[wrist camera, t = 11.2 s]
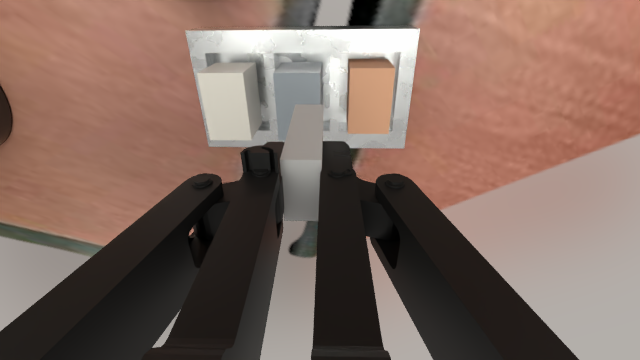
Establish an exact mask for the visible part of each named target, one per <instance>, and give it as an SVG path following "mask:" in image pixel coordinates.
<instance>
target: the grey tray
mask: <svg viewBox="0 0 640 360" xmlns="http://www.w3.org/2000/svg"><path fill="white" fill-rule="evenodd" d="M185 32H186V37H187V42H188V47H189V51H190V56H191V61H192V66H193V71H194V76H195V81H196V86H197V91H198V96H199V101H200V105H201V110H202V115H203V120H204V125H205V130H206V135H207V140H208V145H209V147H252V146H258V145H265V144H266V143H267V142H285V141H279V140H278V128H277V115H276V103H275V91H274V79H273V72H274V71H275V70H276V69H277V68H278V66H279V65H280V64H281V63H282V62H322V85H323V141H344V142H346V143H347V144H348V145H349V148H404V145H405V138H406V130H407V123H408V115H409V108H410V100H411V93H412V85H413V77H414V70H415V62H416V55H417V47H418V40H419V32H420V29H419V28H417V27H414V26H411V25H396V26H283V27H200V28H195V29H191V30H187V31H185ZM348 59H388V60H389V61H390V62H391V63H392V65H393V66H394V67H395V77H394V87H393V97H392V106H391V116H390V126H389V134H348V130H347V85H348ZM237 62H256V70H257V79H258V88H259V98H260V107H261V116H262V123H261V125H260V127H259V129H258V130H257V132H256V134H255V135H254V137H253V139H252V140H210V137H209V132H208V127H207V122H206V117H205V112H204V107H203V102H202V97H201V92H200V87H199V82H198V77H197V73H198V72H200V71H202V70H203V69H205V68H207V67H209V66H211V65H212V64H214V63H237Z"/></svg>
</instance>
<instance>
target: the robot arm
mask: <svg viewBox="0 0 640 360" xmlns="http://www.w3.org/2000/svg"><path fill="white" fill-rule="evenodd" d="M10 129H11V113H10V109H9V105H8V102H7V100H6V98H5V95H4V93H3V92H2V90H1V88H0V145H1V144H2V143H3V142H4V141H5V140H6V139H7V137H8V135H9V133H10ZM241 159H242V166H243V175H242V177H241V179H240V180H239V181H235V182H230V183H224V184H222V182H221V178H220V177H219V176H218V175H214V174H206V173H205V174H198V175H196V176H193V177H191V178H189V179H187V180H186V181H185V182H183V183H182V184H181V185H180V186H178V187H177V188H176V189H175V190H174V191H172V192H171V193H170V194H169V195H167V196H166V197H165V198H164V199H163V200H161V201H160V202H159V203H158V204H156V205H155V206H154V207H153V208H151V209H150V210H149V211H148V212H147V213H145V214H144V215H143V216H142V217H140V218H139V219H138V220H137V221H135V222H134V223H133V224H132V225H131V226H129V227H128V228H127V229H126V230H124V231H123V232H122V233H121V234H120V235H118V236H117V237H116V238H115V239H113V240H112V241H111V242H110V243H108V244H107V245H106V246H105V247H104V248H102V249H101V250H100V251H99V252H97V253H96V254H95V255H94V256H92V257H91V258H90V259H89V260H88V261H86V262H85V263H84V264H83V265H81V266H80V267H79V268H78V269H76V270H75V271H74V272H73V273H72V274H70V275H69V276H68V277H67V278H65V279H64V280H63V281H62V282H61V283H59V284H58V285H57V286H56V287H55V288H53V289H52V290H51V291H50V292H48V293H47V294H46V295H45V296H43V297H42V298H41V299H40V300H38V301H37V302H36V303H35V304H34V305H32V306H31V307H30V308H29V309H27V310H26V311H25V312H24V313H22V314H21V315H20V316H19V317H18V318H16V319H15V320H14V321H13V322H11V323H10V324H9V325H8V326H6V327H5V328H4V329H3V330H2V331H0V360H260V355H261V349H262V344H263V338H264V333H265V327H266V322H267V316H268V311H269V305H270V300H271V294H272V288H273V283H274V277H275V271H276V266H277V260H278V255H279V250H280V244H281V238H282V233H283V219H282V218H283V213H284V220H285V221H318V236H317V260H316V284H315V308H314V333H313V349H312V354H311V360H391V358H390V355H389V353H388V351H385V350H384V347H383V343H382V337H381V331H380V325H379V319H378V312H377V306H376V299H375V293H374V286H373V280H372V273H371V267H370V261H369V254H368V248H367V241H366V236H369V237H370V240H371V244H372V246H373V248H374V249H375V251H376V253H377V255H378V257H379V259H380V261H381V262H382V264H383V266H384V268H385V270H386V272H387V274H388V276H389V278H390V279H391V281H392V283H393V285H394V287H395V289H396V291H397V292H398V294H399V296H400V298H401V300H402V302H403V304H404V306H405V308H406V309H407V311H408V313H409V315H410V317H411V319H412V321H413V322H414V324H415V326H416V328H417V330H418V332H419V334H420V336H421V337H422V339H423V341H424V343H425V344H426V347H427V349H428V350H429V352H430V354H431V356H432V358H433V360H579V359H578V358H577V357H576V356H575V355H574V354H573V353H572V352H571V350H570V349H569V348H568V347H567V346H566V345H565V344H564V343H563V342H562V341H561V340H560V339H559V338H558V337H557V335H556V334H555V333H554V332H553V331H552V330H551V329H550V328H549V327H548V326H547V325H546V324H545V323H544V322H543V320H541V318H540V317H539V316H538V315H537V314H536V313H535V312H534V311H533V310H532V309H531V308H530V307H529V305H528V304H527V303H526V302H525V301H524V300H523V299H522V298H521V297H520V296H519V295H518V294H517V293H516V292H515V291H514V289H513V288H512V287H511V286H510V285H509V284H508V283H507V282H506V281H505V280H504V279H503V278H502V276H501V275H500V274H499V273H498V272H497V271H496V270H495V269H494V268H493V267H492V266H491V265H490V264H489V262H488V261H487V260H486V259H485V258H484V257H483V256H482V255H481V254H480V253H479V252H478V251H477V250H476V249H475V248H474V246H472V244H471V243H470V242H469V241H468V240H467V239H466V238H465V237H464V236H463V235H462V234H461V233H460V231H459V230H458V229H457V228H456V227H455V226H454V225H453V224H452V223H451V222H450V221H449V220H448V219H447V217H446V216H445V215H444V214H443V213H442V212H441V211H440V210H439V209H438V208H437V207H436V206H435V205H434V203H433V202H432V201H431V200H430V199H429V198H428V197H427V196H426V195H425V194H424V193H423V192H422V191H421V190H420V188H419V187H418V186H417V185H416V184H415V183H414V182H413V181H412V180H411V179H409V178H408V177H405V176H403V175H400V174H385V175H381V176H380V177H378V178H377V180H376V183H372V182H367V181H364V180H361V179H359V178H358V177H356V173H355V171H354V170H353V168H352V161H351V155H350V148H349V145H348V144H347V143H346V142H344V141H323V105H311V104H295V108H294V111H293V115H292V118H291V122H290V125H289V129H288V133H287V136H286V140H285V142H267V143H266V144H265V145H258V146H252V147H248V148H246V149H244V150H243V151H242V152H241ZM192 227H193V229H194V232H193V233H192V234H191V235H190V236H189V232H190V230H191V229H192ZM180 309H181V311H180ZM179 311H180V313H179V315H178V317H177V319H176V321H175V324H174V326H173V328H172V330H171V332H170V335H169V337H168V339H167V340H166V342H165V344H164V345H163V346H161V347H157V348H152V347H153V345H154V344H155V343H156V341H157V340H158V339H159V337H160V336H161V335H162V333H163V332H164V331H165V329H166V328H167V327H168V325H169V324H170V323H171V321H172V320H173V319H174V317H175V316H176V315H177V313H178V312H179Z"/></svg>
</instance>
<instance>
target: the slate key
mask: <svg viewBox="0 0 640 360" xmlns="http://www.w3.org/2000/svg"><path fill="white" fill-rule="evenodd" d="M273 79H274V91H275V103H276V115H277V128H278V140H279V141H285V140H286V136H287V133H288V129H289V125H290V122H291V118H292V115H293V111H294V108H295V104H311V105H323V85H322V62H282V63H281V64H280V65H279V66H278V68H277V69H276V70H275V71H274V72H273Z"/></svg>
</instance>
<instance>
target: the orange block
mask: <svg viewBox="0 0 640 360" xmlns="http://www.w3.org/2000/svg"><path fill="white" fill-rule="evenodd" d="M394 77H395V67H394V66H393V65H392V63H391V62H390V61H389V60H388V59H348V85H347V130H348V134H389V126H390V116H391V106H392V97H393V87H394Z"/></svg>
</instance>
